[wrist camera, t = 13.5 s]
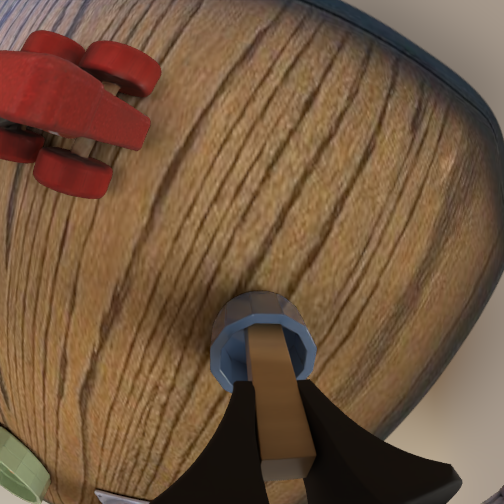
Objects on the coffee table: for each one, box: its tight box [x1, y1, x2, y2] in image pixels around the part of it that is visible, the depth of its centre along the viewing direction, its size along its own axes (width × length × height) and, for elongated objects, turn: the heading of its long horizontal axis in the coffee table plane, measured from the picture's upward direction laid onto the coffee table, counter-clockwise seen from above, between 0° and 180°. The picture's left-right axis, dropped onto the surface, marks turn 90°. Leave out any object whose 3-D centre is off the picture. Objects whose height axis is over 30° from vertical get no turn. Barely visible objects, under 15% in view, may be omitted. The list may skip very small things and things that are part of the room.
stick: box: [244, 323, 317, 481], centre depth 11 cm, size 2×2×9 cm
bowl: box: [0, 426, 51, 504], centre depth 16 cm, size 12×12×4 cm
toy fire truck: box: [0, 30, 161, 199], centre depth 7 cm, size 7×12×10 cm, turn 64°
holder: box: [210, 291, 317, 393], centre depth 14 cm, size 5×5×3 cm
